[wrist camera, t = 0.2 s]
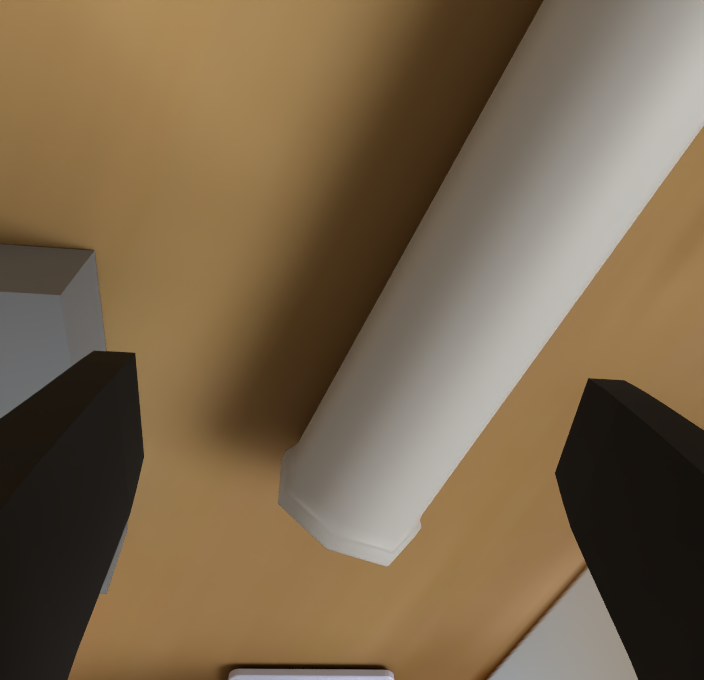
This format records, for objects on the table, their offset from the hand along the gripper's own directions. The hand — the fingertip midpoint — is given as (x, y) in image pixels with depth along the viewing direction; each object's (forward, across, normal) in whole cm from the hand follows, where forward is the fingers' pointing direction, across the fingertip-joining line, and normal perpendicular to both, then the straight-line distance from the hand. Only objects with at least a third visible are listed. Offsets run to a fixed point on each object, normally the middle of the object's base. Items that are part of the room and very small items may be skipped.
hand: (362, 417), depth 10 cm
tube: (+10, -5, -2) cm, 12 cm away
